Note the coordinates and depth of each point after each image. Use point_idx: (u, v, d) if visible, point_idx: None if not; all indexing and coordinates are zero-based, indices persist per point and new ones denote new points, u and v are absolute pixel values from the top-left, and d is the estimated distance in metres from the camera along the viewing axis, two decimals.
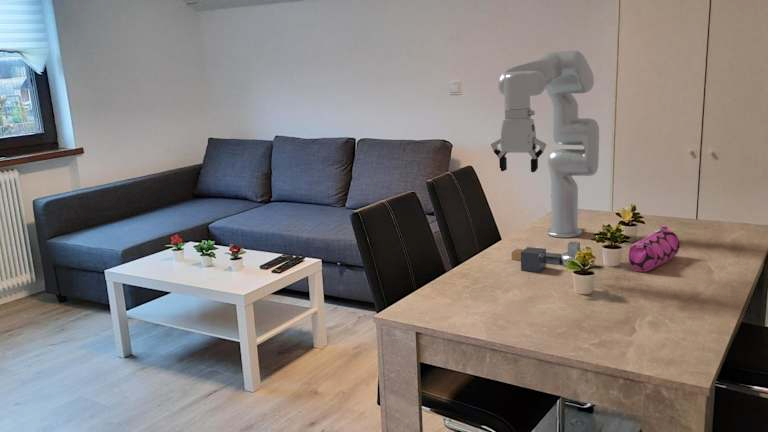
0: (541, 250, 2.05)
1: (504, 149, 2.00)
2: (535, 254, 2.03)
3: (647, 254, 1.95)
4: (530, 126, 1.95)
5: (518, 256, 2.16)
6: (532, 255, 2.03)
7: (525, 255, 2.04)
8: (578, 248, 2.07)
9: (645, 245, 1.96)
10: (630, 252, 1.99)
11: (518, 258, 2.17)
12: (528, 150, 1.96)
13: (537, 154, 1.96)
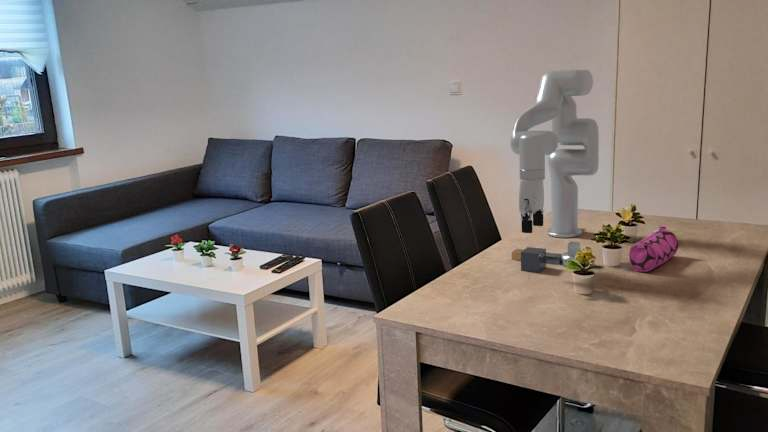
0: (541, 250, 2.05)
1: (534, 210, 1.98)
2: (535, 254, 2.03)
3: (648, 254, 1.95)
4: None
5: (518, 256, 2.16)
6: (532, 255, 2.03)
7: (525, 255, 2.04)
8: (578, 248, 2.07)
9: (646, 245, 1.96)
10: (630, 252, 1.98)
11: (518, 258, 2.17)
12: (543, 206, 2.05)
13: None
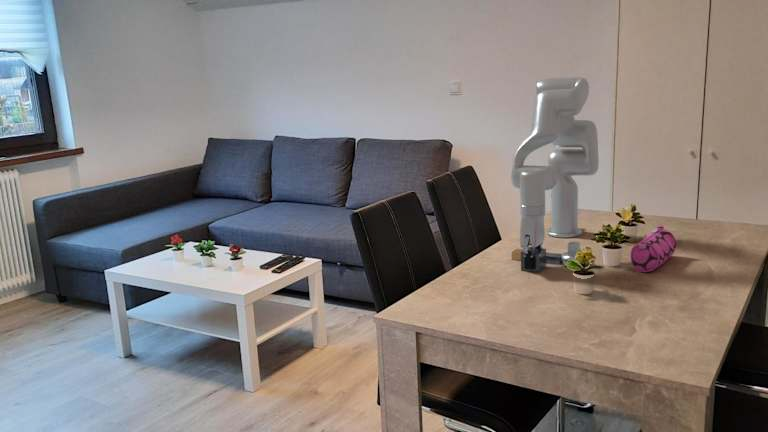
0: (541, 250, 2.05)
1: (535, 245, 2.01)
2: (535, 254, 2.03)
3: (650, 255, 1.95)
4: None
5: (518, 256, 2.16)
6: None
7: None
8: (578, 248, 2.07)
9: (648, 245, 1.95)
10: (632, 253, 1.98)
11: (518, 258, 2.17)
12: (543, 240, 2.07)
13: None
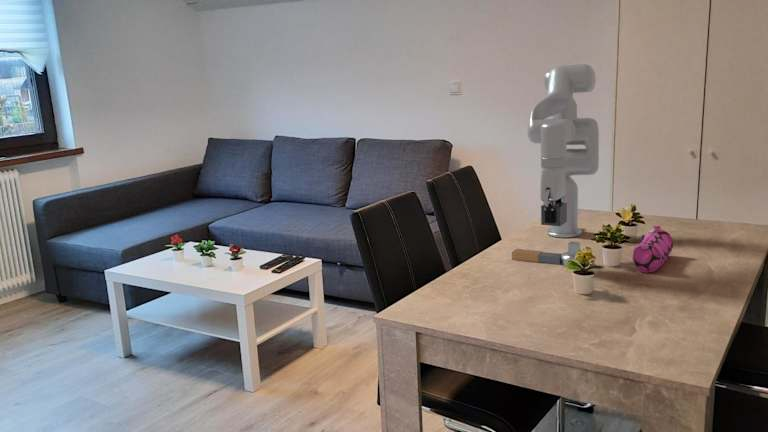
0: (562, 204, 2.03)
1: (556, 198, 1.99)
2: (556, 207, 2.01)
3: (653, 255, 1.94)
4: None
5: (518, 256, 2.16)
6: None
7: None
8: (578, 248, 2.07)
9: (650, 246, 1.95)
10: (634, 253, 1.97)
11: (518, 258, 2.17)
12: (564, 194, 2.05)
13: None
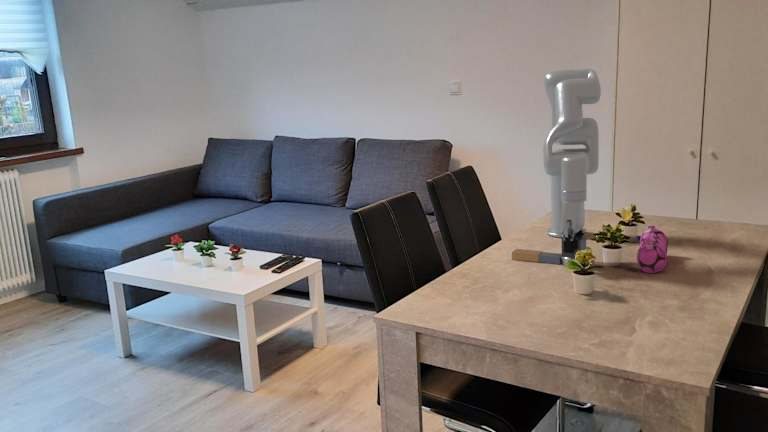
0: (582, 236, 2.07)
1: (577, 230, 2.02)
2: (576, 240, 2.04)
3: (658, 255, 1.94)
4: None
5: (518, 256, 2.16)
6: None
7: None
8: None
9: (655, 246, 1.94)
10: (639, 254, 1.96)
11: (518, 258, 2.17)
12: (583, 225, 2.09)
13: None
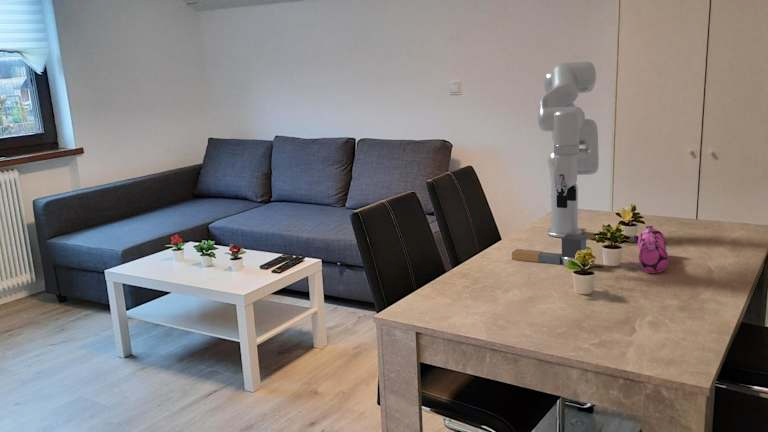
0: (582, 236, 2.07)
1: (569, 185, 2.02)
2: (576, 240, 2.04)
3: (660, 255, 1.94)
4: None
5: (518, 256, 2.16)
6: (573, 241, 2.05)
7: (566, 241, 2.06)
8: None
9: (656, 246, 1.94)
10: (641, 255, 1.96)
11: (518, 258, 2.17)
12: (576, 181, 2.08)
13: (574, 183, 2.11)
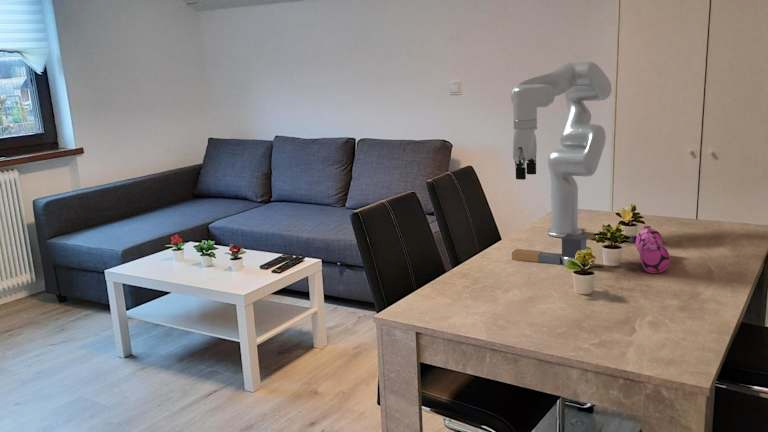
0: (582, 236, 2.07)
1: (528, 157, 2.13)
2: (577, 240, 2.04)
3: (662, 255, 1.94)
4: None
5: (518, 256, 2.16)
6: (573, 241, 2.05)
7: (566, 241, 2.06)
8: None
9: (658, 246, 1.94)
10: (643, 255, 1.95)
11: (518, 258, 2.17)
12: (535, 155, 2.19)
13: None
